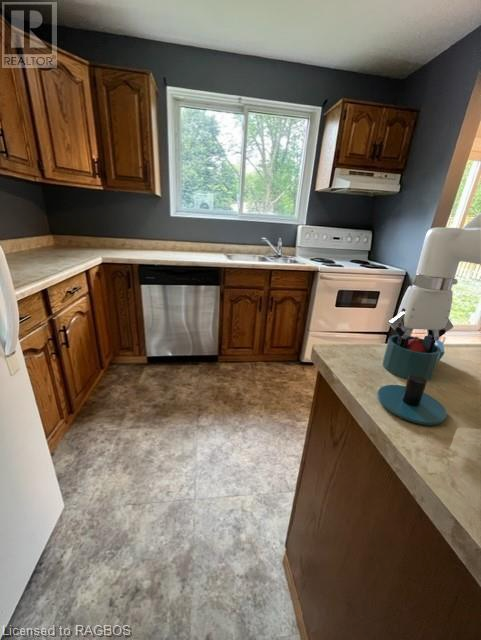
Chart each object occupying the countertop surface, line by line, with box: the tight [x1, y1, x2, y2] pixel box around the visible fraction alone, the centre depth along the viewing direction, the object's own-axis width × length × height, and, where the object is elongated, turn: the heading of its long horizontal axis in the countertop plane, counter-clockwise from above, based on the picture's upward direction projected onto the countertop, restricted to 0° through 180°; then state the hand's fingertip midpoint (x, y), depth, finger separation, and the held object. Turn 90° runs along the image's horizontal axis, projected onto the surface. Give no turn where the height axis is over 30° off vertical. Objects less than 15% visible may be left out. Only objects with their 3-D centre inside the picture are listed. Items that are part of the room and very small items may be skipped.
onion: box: [407, 336, 427, 353], centre depth 70 cm, size 6×6×8 cm
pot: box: [382, 334, 441, 382], centre depth 70 cm, size 11×11×8 cm
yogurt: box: [435, 339, 445, 364], centre depth 74 cm, size 12×2×6 cm, turn 145°
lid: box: [376, 375, 447, 426], centre depth 56 cm, size 12×12×7 cm
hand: (413, 351), depth 70 cm, fingers closed on onion, 5 cm apart
